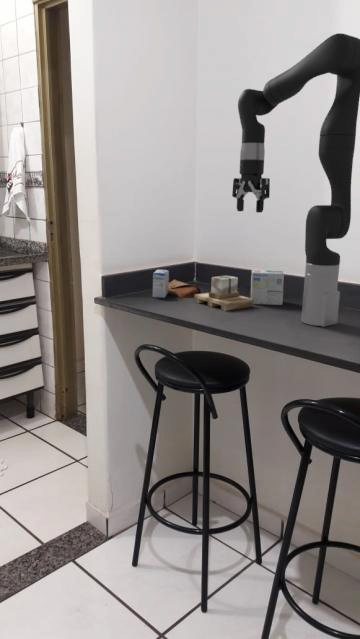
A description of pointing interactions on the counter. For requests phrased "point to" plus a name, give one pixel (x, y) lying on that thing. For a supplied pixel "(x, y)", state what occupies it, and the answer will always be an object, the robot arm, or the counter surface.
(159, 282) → the medicine box
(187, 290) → the sunglasses case
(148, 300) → the counter surface
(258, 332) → the counter surface
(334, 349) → the counter surface
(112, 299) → the counter surface
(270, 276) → the light bulb box
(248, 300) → the dock
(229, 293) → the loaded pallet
